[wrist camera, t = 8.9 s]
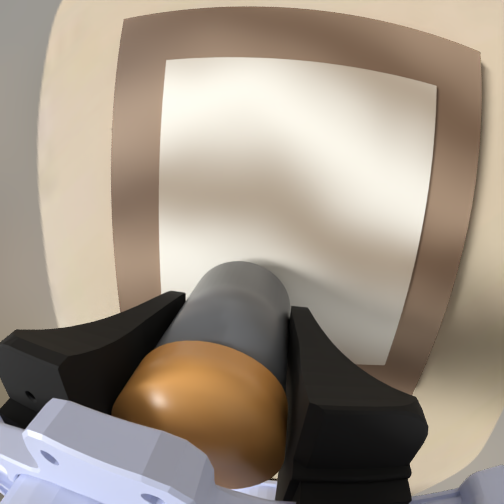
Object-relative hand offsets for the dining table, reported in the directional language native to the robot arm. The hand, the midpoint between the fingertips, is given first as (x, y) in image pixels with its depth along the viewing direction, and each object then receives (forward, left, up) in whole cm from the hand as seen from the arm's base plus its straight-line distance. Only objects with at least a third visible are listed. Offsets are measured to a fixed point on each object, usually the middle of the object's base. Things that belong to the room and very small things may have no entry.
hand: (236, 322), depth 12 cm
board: (+4, -2, -3) cm, 5 cm away
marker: (0, 0, -2) cm, 2 cm away
